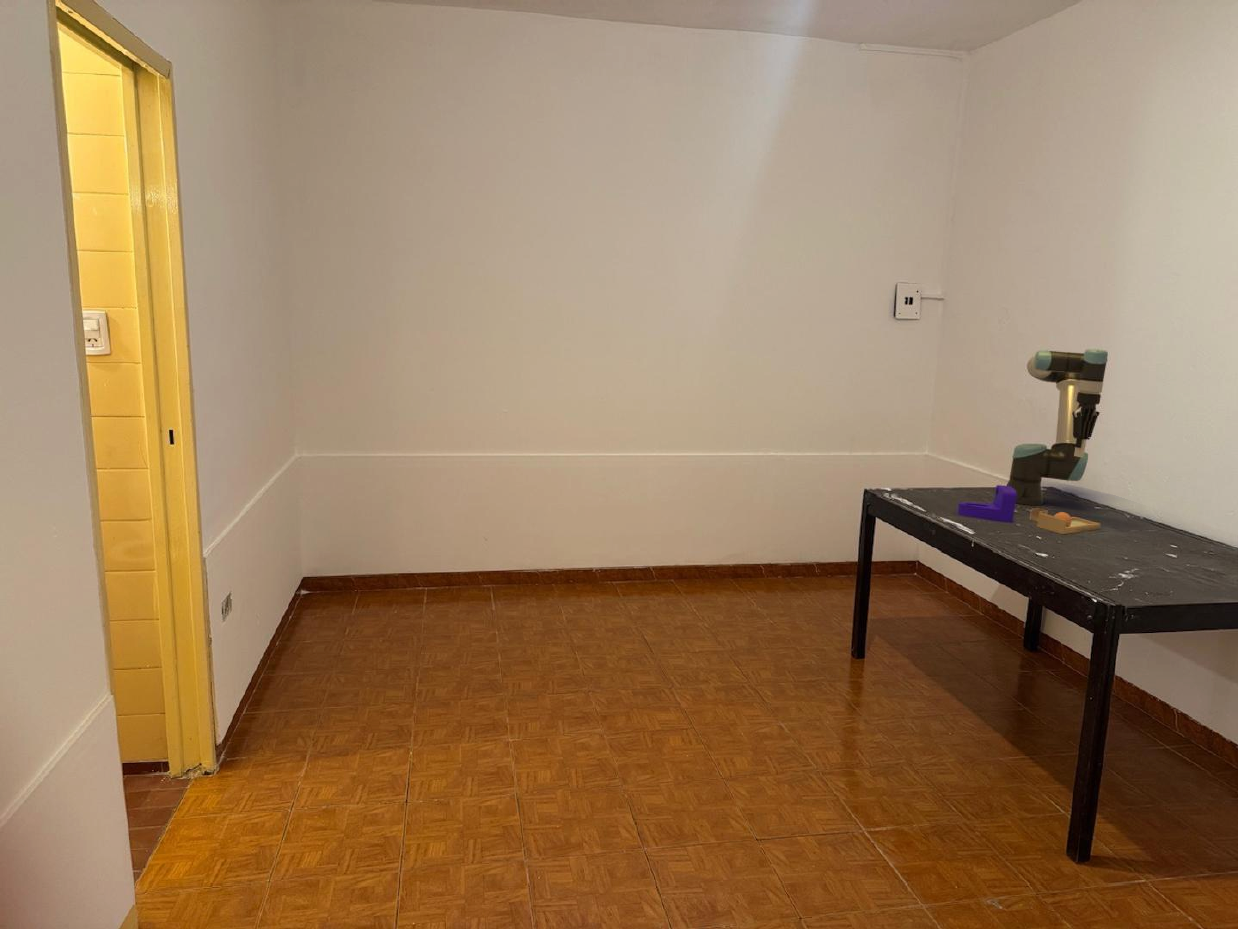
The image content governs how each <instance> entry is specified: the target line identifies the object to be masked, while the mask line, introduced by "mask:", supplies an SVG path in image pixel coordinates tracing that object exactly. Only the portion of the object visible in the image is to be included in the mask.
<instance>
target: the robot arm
mask: <svg viewBox="0 0 1238 929" xmlns="http://www.w3.org/2000/svg"><path fill="white" fill-rule="evenodd" d="M1108 355H1109V353H1108V351H1107V350H1104V349H1096V348H1095V349H1094V348H1093V349H1092V348H1091V349H1090V348H1087V349H1085V350H1084V353H1083V352H1068V351H1057V350H1046V349H1044V350H1037V351H1036V353H1035V354H1034V356H1032V357H1031V358H1030V359H1029V360H1028V362H1027V364H1026V366H1027V367H1026V368H1027V372H1028V374H1029V375H1030V376H1032V377H1033V378H1035V379H1036V380H1039V381H1042V382H1046V383H1055V384H1056V385H1055V387H1056V389H1057V390H1058V391H1059V400H1058V411H1057V423H1056V424H1057V426H1056V433H1055V434H1056V436H1055V437H1056V438H1055V442H1054V443H1053V444H1051V446H1050V447H1051V448H1048V446H1047V445H1046V444H1041V443H1021V444H1018V445H1016V446H1015V447H1014V450H1013V454H1012V461H1011V462H1012V463H1011V466H1010V467H1011V468H1010V474H1009V480H1008V482H1007V484H1006V486H1011V487H1012V488H1014V489H1015V490H1016V493H1017V496H1016V503H1015V504H1021V505H1030V506H1038V505H1039V506H1040V505H1042V504H1044V503H1043V502H1044V496H1043V490H1042V478H1043V479H1051V480H1059V481H1067V482H1068V481H1070V482H1079V481H1080V480H1081V479H1082V478H1083V476H1084V473H1085V470H1086V468H1087V464H1088V460H1089V454H1088V453H1087V452H1085V448H1086V445H1087V440H1088V441H1089V440H1090V438H1092V436H1093V431H1094V429H1095V426H1096V423H1097V420H1098V417H1099V415H1100V413H1101V412H1100V411H1098V410H1097V405H1099V404H1100V403H1101V399H1102V395H1101V393H1102V392H1103V386H1104V378H1105V375H1106V374H1105V373H1106V368H1107V363H1108V357H1109V356H1108Z"/></svg>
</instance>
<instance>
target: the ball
mask: <svg viewBox="0 0 1238 929" xmlns="http://www.w3.org/2000/svg"><path fill="white" fill-rule="evenodd" d="M1053 516H1054V517H1057V518H1061V519H1065V520H1067V522H1066V527H1069V526H1070V525H1071V522H1072V520H1071V517H1072V516H1071V515H1070V514H1068V513H1067V512H1063V511H1060V512H1057V513H1056V514H1054V515H1053Z"/></svg>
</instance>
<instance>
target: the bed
mask: <svg viewBox="0 0 1238 929" xmlns="http://www.w3.org/2000/svg"><path fill="white" fill-rule="evenodd" d="M1070 517H1071V520H1072V522H1071V525H1070V526H1069V527H1066V522H1067V520H1065V519H1061V518H1057V517H1054V515H1050V514H1048V513H1047V514H1043V513H1039V517H1038V522H1037V524H1036V527H1037V528H1041V529H1044V530H1047V531H1051V532H1054V533H1056V534H1057V533H1058V534H1060V535H1064V534H1073V533H1081V532H1087V531H1094V530H1095V531H1097V530H1100V529H1101V523H1099V522H1095V521H1091V520H1087V519H1084V518H1082V517H1081V518H1080V517H1076V516H1070Z"/></svg>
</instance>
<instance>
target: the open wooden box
mask: <svg viewBox="0 0 1238 929" xmlns="http://www.w3.org/2000/svg"><path fill="white" fill-rule="evenodd" d="M1039 513H1043V514H1047V515H1048V514H1049V513H1048V510H1045V509H1042V508H1039V507H1038V508H1037V507H1036V508H1031V509H1030V513H1029V520H1030V521H1033V522H1037V523H1038V517H1039Z"/></svg>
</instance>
